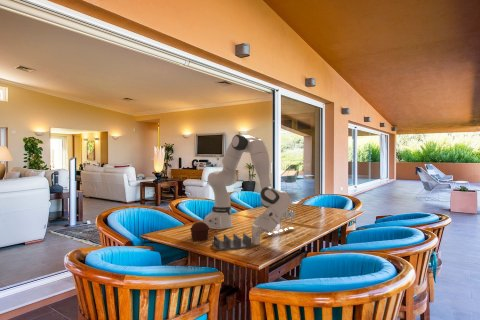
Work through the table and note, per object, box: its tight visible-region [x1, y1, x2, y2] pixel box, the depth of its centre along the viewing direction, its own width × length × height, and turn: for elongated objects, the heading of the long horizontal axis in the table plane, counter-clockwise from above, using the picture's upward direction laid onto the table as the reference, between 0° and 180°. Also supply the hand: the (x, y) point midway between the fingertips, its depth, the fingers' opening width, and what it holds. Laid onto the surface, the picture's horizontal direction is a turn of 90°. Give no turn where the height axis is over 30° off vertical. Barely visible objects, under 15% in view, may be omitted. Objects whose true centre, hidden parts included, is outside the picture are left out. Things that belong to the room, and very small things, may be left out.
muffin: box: [189, 221, 210, 242], centre depth 184 cm, size 12×11×10 cm
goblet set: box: [265, 209, 296, 235], centre depth 207 cm, size 28×6×13 cm, turn 133°
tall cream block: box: [251, 224, 261, 246], centre depth 176 cm, size 3×5×10 cm, turn 18°
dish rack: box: [212, 232, 253, 252], centre depth 172 cm, size 19×14×5 cm
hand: (254, 234), depth 176 cm, fingers closed on tall cream block, 5 cm apart
